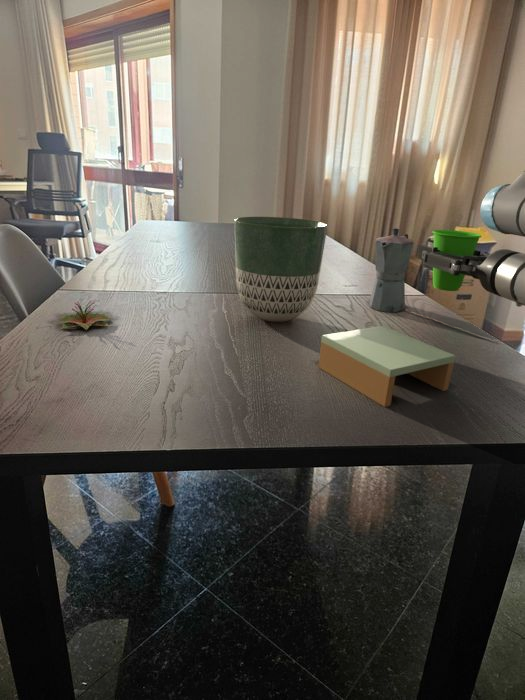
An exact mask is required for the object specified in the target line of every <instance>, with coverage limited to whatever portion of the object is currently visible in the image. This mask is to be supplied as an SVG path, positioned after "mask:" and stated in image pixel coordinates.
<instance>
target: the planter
mask: <svg viewBox="0 0 525 700" xmlns="http://www.w3.org/2000/svg"><path fill="white" fill-rule="evenodd" d="M327 231H328V224H327V223H325V222H322V221H317V220H312V219H304V218H294V217H283V216H282V217H281V216H242V217H236V218H235V219H234V259H235V263H234V264H235V284H236V289H237V293H238V296H239V299H240V301H241V303H242V304H243V306H244V307H245V309H247V311H248V312H249V313H250V314H252V315H253V316H254V317H256V318H257V319H260V320H263V321H265V322H271V323H282V322H283V323H284V322H288V321H291V320H294V319H296V318H298V317H299V316H301V315H302V314H304V313H305V311H306V310H308V309H309V307H310V306H311V304H312V302H313V301H314V298H315V296H316V293H317V290H318V287H319V281H320V276H321V269H322V264H323V263H322V262H323V255H324V251H325V250H324V249H325V243H326V237H327Z"/></svg>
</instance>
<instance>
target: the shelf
mask: <svg viewBox="0 0 525 700" xmlns="http://www.w3.org/2000/svg"><path fill="white" fill-rule="evenodd" d="M455 358H456V355H455V354H453V353H450V352H447V351H445V350H442V349H440V348H438V347H435V346H433V345H431V344H428V343H426V342H423V341H421V340H419V339H416V338H414V337H411V336H409V335H406V334H404V333H401V332H399V331H398V330H397V331H396V330H394V329H392V328H389V327H387V326H384V325H377V326H372V327H366V328H364V327H363V328H359V329H353V330H346V331H339V332H333V333H327V334H322V335H321V342H320V351H319V360H318V368H319V369H320V370H322V371H323V372H326V373H327V374H329V375H331V376H332V377H334V378H335V379H337V380H339V381H340V382H342V383H344V384H346V385H347V386H348V387H350V388H352V389H354V390H355V391H357V392H359V393H360V394H362V395H364V396H365V397H367V398H369V399H370V400H372V401H374V402H375V403H377V404H378V405H380V406H382V407H383V408H387V407H390V406H391V405H392V400H393V393H394V387H395V381H396V377H397V376H401V375H405V374H406V375H407V374H408V375H409V376H411V377H413V378H415V379H418V380H420V381H421V382H424V383H425V384H427V385H430V386H431V387H434V388H435V389H438V390H440V391H441V392H445V391H448V390H449V386H450V381H451V377H452V373H453V368H454V364H455Z"/></svg>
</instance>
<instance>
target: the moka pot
mask: <svg viewBox="0 0 525 700" xmlns="http://www.w3.org/2000/svg"><path fill="white" fill-rule="evenodd" d="M399 232H400V229H399V228H392V235H388V236H387V235H385V236H381V237H376V239H375V278H374V281H373V282H374V283H373V286H372V290H371V294H370V299H369V303H368V306H369V307H370V308H371V309H373V310H375V311H378V312H385V313H397V312H402V311H404V309H405V308H406V295H405V294H406V293H405V292H406V289H405V286H406V285H405V284H406V282H405V278H406V273H407V270H408V267H409V264H410V260H411V255H412V251H413V249H414V248H413V246H414V239H411V238H409V234H408V233H405V234H404V235H399Z"/></svg>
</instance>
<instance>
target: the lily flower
mask: <svg viewBox="0 0 525 700" xmlns="http://www.w3.org/2000/svg"><path fill="white" fill-rule="evenodd" d="M91 302H92V300H90V301H88V303H87V305H86V307H85V309H84V310H83V309H82V305H81V304H80V302H79V301H76V302H74V305H75V306H74V307H75V308H71V310H72V311H74V312H75V314H66V315H64V314H62V315H61V318H60V319H58V320H57V321H54V322H53V323H62V322H64V323H63V324H62V325H61V327H60V329H61V330H63V329H67V328H72V327H75V328H76V327H82V328H83V329H84V330H86V331H87V330H88V329H89V328H90V327H92V326H101V327H109V324H108V322H107V320H111V321H112V320H115V319H114V318H111V317H109V316H106V315H107V313H93V312H92V311H94V310H95V309H94V308H92V306H93V305H95V304H96V302H92V303H91ZM90 303H91V304H90ZM105 320H106V321H105Z"/></svg>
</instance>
